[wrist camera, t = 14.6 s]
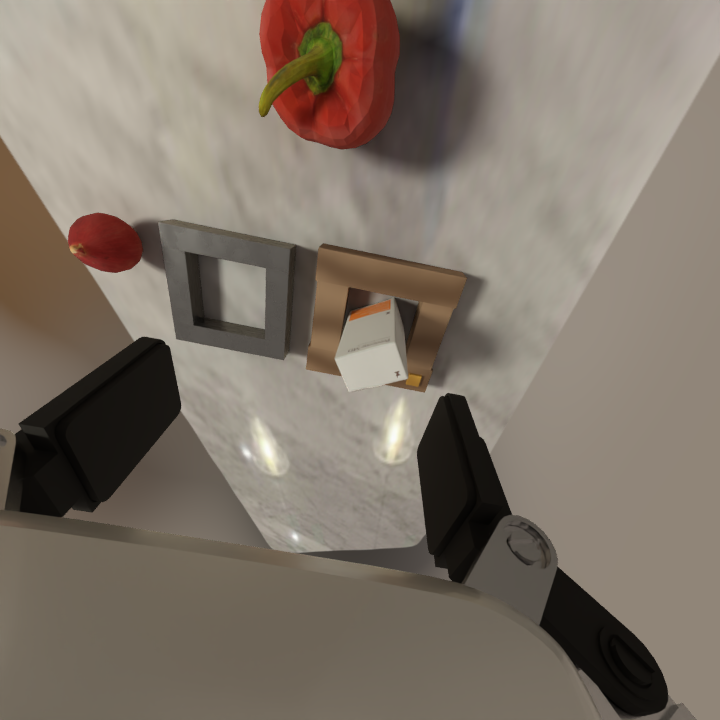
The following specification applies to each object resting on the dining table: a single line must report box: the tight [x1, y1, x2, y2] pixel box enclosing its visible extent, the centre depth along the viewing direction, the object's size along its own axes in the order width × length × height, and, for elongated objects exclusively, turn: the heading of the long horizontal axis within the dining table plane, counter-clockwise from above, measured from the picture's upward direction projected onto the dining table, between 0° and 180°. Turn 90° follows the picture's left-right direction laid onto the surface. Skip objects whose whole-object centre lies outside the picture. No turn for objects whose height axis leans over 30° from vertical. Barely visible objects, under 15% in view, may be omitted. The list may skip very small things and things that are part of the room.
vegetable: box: [259, 0, 400, 149], centre depth 22 cm, size 11×10×10 cm
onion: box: [68, 213, 143, 273], centre depth 31 cm, size 6×6×8 cm
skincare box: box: [335, 298, 408, 392], centre depth 32 cm, size 6×4×12 cm
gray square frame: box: [158, 219, 296, 360], centre depth 36 cm, size 14×14×2 cm
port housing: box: [306, 243, 467, 392], centre depth 36 cm, size 16×16×3 cm
